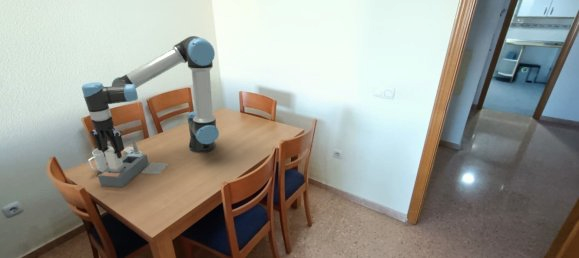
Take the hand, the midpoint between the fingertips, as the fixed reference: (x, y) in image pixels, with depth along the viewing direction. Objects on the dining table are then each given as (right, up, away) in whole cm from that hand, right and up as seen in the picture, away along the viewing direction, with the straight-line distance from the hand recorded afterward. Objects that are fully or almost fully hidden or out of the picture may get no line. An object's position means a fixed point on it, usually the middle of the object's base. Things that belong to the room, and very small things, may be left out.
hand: (115, 163), depth 128 cm
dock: (0, -7, +8) cm, 11 cm away
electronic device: (-7, +1, +27) cm, 28 cm away
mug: (-13, -5, +12) cm, 18 cm away
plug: (0, -4, +2) cm, 5 cm away
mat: (+13, -5, +13) cm, 19 cm away
